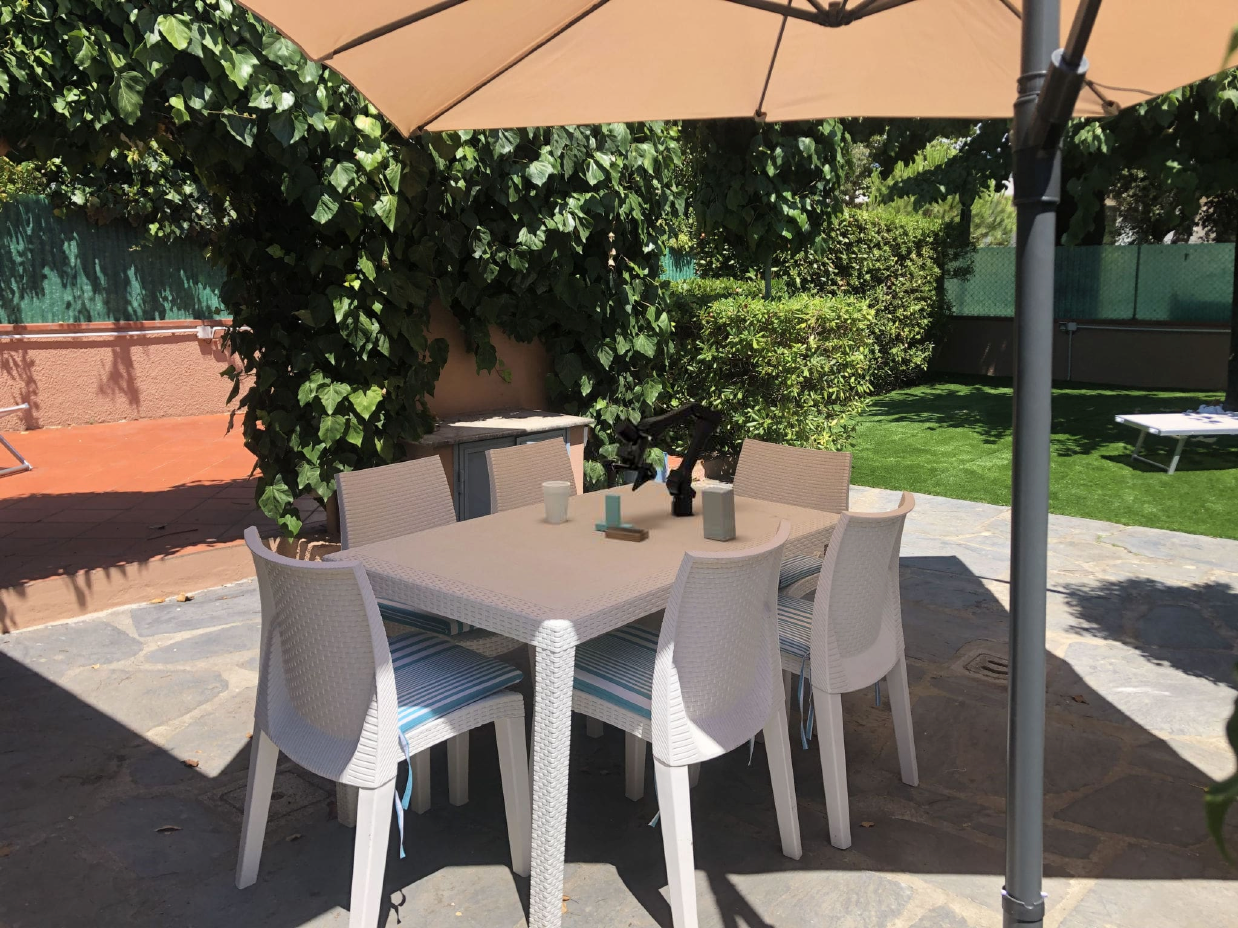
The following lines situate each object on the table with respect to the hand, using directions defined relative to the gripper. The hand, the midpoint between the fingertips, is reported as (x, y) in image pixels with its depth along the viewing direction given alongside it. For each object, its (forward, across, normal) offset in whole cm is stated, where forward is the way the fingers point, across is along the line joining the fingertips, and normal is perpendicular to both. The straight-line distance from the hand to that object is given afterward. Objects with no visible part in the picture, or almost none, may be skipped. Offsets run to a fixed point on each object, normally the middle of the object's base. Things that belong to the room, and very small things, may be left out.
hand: (620, 489), depth 319 cm
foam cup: (+10, -25, +9) cm, 28 cm away
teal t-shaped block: (+12, 0, +6) cm, 13 cm away
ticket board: (+16, +8, +2) cm, 18 cm away
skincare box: (+7, +33, +12) cm, 36 cm away
